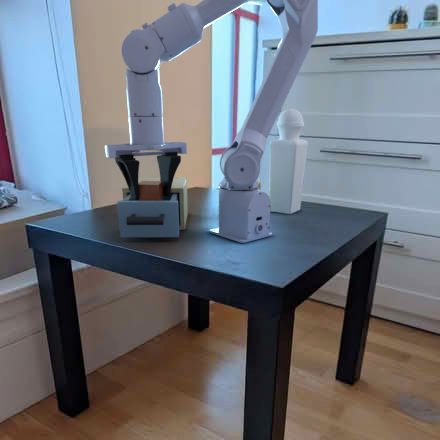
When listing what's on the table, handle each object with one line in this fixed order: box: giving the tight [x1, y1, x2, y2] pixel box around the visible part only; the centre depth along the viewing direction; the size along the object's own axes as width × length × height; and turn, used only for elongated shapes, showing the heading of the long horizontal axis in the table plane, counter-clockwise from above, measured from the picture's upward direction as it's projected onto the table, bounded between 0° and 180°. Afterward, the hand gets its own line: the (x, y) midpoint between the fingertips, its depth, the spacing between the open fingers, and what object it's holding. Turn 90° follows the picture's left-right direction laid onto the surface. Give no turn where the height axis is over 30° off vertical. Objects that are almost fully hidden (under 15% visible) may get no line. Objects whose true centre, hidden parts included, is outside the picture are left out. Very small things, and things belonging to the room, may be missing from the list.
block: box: [137, 181, 164, 201], centre depth 76 cm, size 4×4×4 cm
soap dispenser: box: [268, 108, 309, 215], centre depth 94 cm, size 6×6×22 cm
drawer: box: [116, 193, 180, 238], centre depth 77 cm, size 17×10×6 cm, turn 2°
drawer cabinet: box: [121, 176, 189, 231], centre depth 87 cm, size 14×12×8 cm
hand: (150, 197), depth 76 cm, fingers closed on block, 5 cm apart
